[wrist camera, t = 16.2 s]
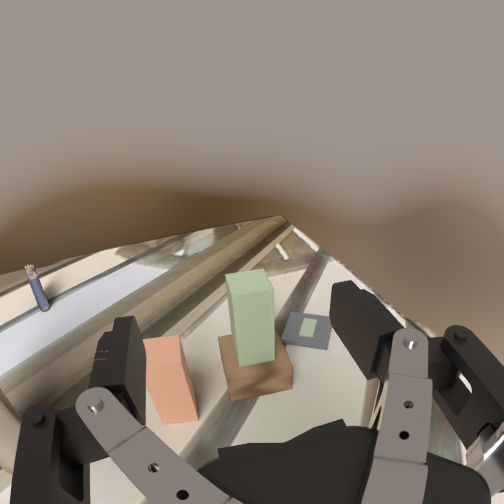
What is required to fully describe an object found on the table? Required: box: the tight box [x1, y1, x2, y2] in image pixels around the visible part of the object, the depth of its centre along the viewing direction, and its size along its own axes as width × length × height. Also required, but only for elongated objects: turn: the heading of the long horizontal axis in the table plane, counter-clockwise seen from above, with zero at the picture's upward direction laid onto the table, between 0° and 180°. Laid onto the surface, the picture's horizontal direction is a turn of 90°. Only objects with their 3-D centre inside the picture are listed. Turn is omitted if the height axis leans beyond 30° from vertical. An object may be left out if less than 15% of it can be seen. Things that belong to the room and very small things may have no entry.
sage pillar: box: [225, 269, 275, 367], centre depth 42 cm, size 5×5×12 cm
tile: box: [281, 312, 332, 350], centre depth 55 cm, size 8×8×1 cm
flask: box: [25, 265, 50, 312], centre depth 63 cm, size 9×3×11 cm, turn 45°
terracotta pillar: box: [143, 335, 199, 424], centre depth 38 cm, size 5×5×12 cm
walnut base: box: [218, 327, 293, 401], centre depth 46 cm, size 9×9×5 cm
